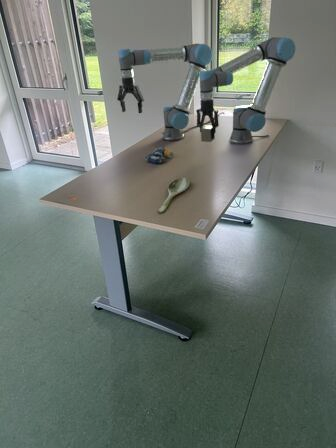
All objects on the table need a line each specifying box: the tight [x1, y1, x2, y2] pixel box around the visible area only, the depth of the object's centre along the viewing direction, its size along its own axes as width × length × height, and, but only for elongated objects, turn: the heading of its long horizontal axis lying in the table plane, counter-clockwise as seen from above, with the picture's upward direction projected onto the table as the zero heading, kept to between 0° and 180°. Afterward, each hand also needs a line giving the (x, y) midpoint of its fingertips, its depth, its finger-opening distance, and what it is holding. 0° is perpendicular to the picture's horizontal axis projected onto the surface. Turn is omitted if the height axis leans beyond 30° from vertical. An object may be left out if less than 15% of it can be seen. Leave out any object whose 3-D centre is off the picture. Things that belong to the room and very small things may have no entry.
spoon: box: [157, 177, 191, 213], centre depth 166 cm, size 35×11×2 cm, turn 159°
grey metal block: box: [200, 124, 216, 143], centre depth 207 cm, size 6×6×8 cm
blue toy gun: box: [144, 147, 175, 165], centre depth 212 cm, size 21×4×15 cm
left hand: (132, 112), depth 218 cm, fingers open, 13 cm apart
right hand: (207, 137), depth 208 cm, fingers closed on grey metal block, 6 cm apart
